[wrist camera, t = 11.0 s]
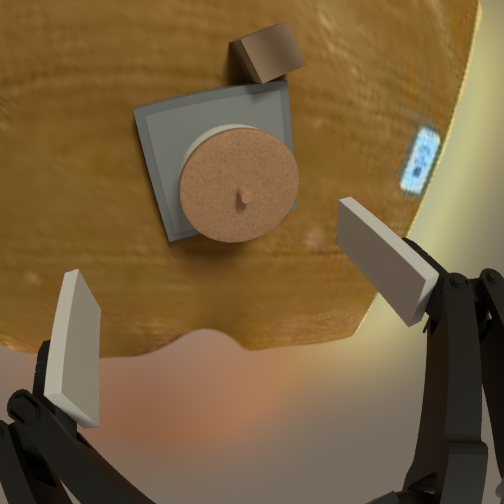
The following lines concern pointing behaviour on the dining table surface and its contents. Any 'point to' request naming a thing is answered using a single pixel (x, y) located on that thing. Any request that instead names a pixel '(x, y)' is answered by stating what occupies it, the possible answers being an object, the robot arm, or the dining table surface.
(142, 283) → the dining table surface
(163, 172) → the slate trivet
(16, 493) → the robot arm
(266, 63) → the walnut block
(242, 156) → the lidded jar
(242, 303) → the dining table surface
